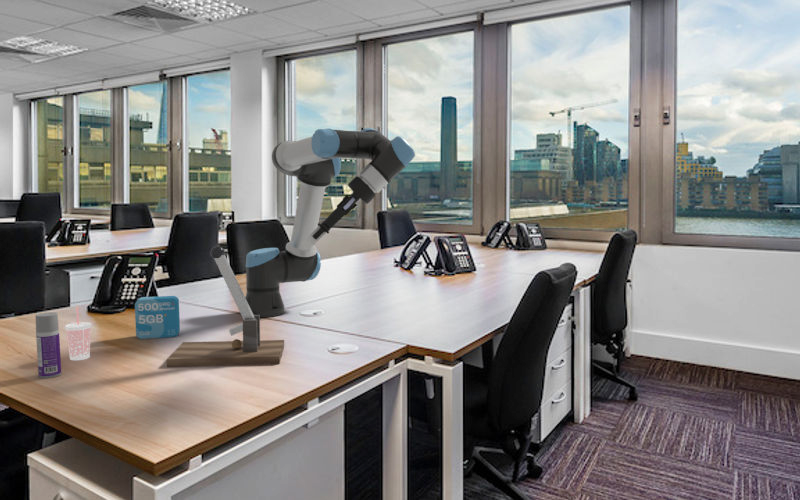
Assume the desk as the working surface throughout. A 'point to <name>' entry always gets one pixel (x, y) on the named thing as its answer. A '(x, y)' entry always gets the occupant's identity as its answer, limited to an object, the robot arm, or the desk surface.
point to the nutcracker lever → (232, 287)
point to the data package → (157, 317)
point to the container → (48, 345)
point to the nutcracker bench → (230, 350)
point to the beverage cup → (78, 339)
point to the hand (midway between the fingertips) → (305, 246)
